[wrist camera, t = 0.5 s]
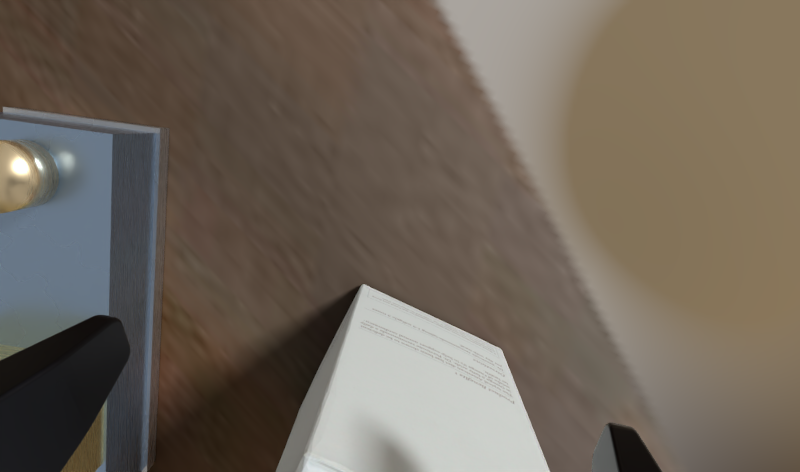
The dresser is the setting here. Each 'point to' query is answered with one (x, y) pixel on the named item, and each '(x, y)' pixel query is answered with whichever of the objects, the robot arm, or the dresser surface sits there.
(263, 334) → the dresser surface
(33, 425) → the robot arm
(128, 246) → the light blue box
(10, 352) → the yellow knobbed box
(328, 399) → the supplement box
